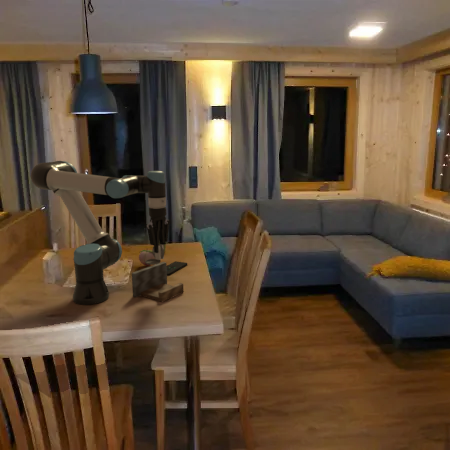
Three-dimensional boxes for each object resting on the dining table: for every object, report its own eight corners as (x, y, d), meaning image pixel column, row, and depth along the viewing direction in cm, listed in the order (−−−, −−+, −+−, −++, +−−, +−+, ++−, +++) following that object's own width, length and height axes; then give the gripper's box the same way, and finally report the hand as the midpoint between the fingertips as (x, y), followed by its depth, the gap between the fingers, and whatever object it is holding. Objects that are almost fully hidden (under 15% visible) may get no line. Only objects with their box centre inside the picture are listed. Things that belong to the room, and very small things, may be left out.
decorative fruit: (158, 263, 232) (157, 246, 230) (154, 268, 224) (153, 250, 222) (141, 263, 233) (141, 246, 231) (137, 268, 225) (136, 250, 223)
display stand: (157, 304, 177) (156, 279, 175) (132, 296, 186) (131, 272, 183) (187, 290, 193) (187, 267, 191) (164, 283, 201) (163, 261, 199)
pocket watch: (143, 265, 180) (142, 243, 178) (148, 259, 189) (146, 238, 187) (162, 265, 180) (161, 243, 178) (166, 259, 188) (164, 238, 186)
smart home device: (155, 271, 215) (175, 260, 233) (155, 274, 216) (175, 263, 233) (168, 273, 212) (188, 262, 230) (168, 276, 212) (188, 265, 230)
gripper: (151, 210, 173) (154, 264, 178) (175, 205, 184) (176, 256, 189) (139, 208, 177) (142, 261, 182) (162, 203, 188) (164, 253, 194)
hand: (159, 258), depth 186 cm, fingers closed on pocket watch
